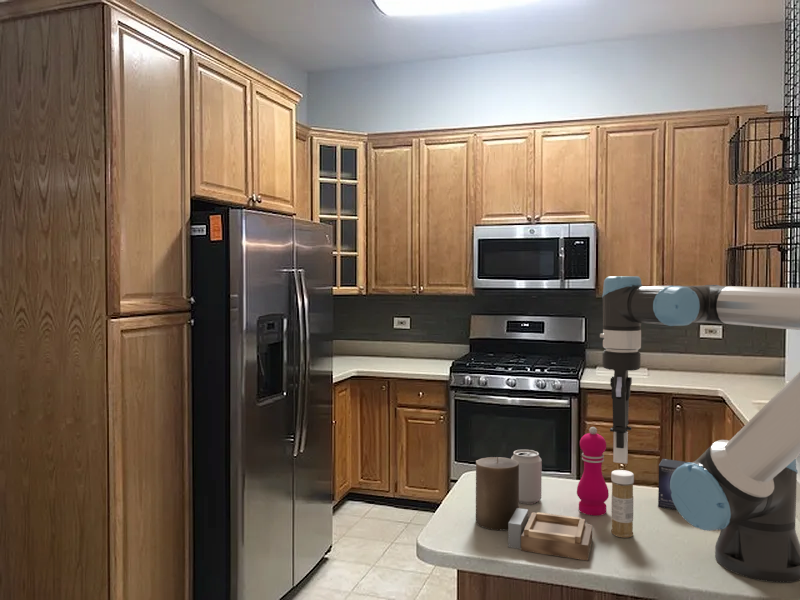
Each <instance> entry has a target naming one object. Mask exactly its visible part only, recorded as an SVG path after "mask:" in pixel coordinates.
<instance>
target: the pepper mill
mask: <svg viewBox="0 0 800 600" xmlns="http://www.w3.org/2000/svg"><path fill="white" fill-rule="evenodd" d="M579 448H580V450H581V451H582V453H581V460H582V461H583V473H582V475H581V478H580V480H579V481H578V484H577V487H576V495H577V497H578V498H579V502H578V512H580V513H582V514H584V515H587V516H592V517H593V516H595V517H596V516H597V517H599V516H603V515H605V514H606V513H607V504H606V501H607V500H608V498H609V495H610V494H609V488H608V484H607V483H606V480H605V478H604V476H603V472H602V469H603V468H602V465H603V462H604V461H605V459H604V458H605V454H604V452H605V451H606V449H607V442H606V439H605V438H604V437H603V436H602V435H601V434H599V433H598V429H597V428H596V427H595V426H591V427H589V433H588V432H587V433H585V434H584V435H583V436H581V438H580V440H579Z"/></svg>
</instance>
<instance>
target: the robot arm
mask: <svg viewBox="0 0 800 600" xmlns="http://www.w3.org/2000/svg"><path fill="white" fill-rule="evenodd" d="M601 295H602V296H601V297H602V298H601V299H602V320H603V321H602V333H599V338H601V339H603V340H602V347H603V348H604V350H603V351H602V367H603V369H606V370H611V371H612V370H613V371H614V374H613V375H612V376H611V378H610V379H609V380H610V381H609V382H610V384H609V385H610V387H611V399H612V427H610V429H609V432H610V433H611V432H613V447H612V448H613V450H612V451H613V453H612V454H613V455H612V456H613V457H612V458H613V459H612V460H613V463H618V464H626V465H627V464H628V461H629V460H628V459H629V458H628V450H629V449H628V448H629V447H628V446H629V445H628V442H629V440H628V439H629V438H628V437H629V434H628V433H629V431H632V426H629V423H630V422H629V411H630V410H629V406H630V405H629V404H630V397H631V386H632V383H633V382H632V381H633V379H632V377H630V376H629V372H630V371H631V372H633V371H638V370H640V368H641V362H642V361H641V356H642V355H641V352H640V351H639V350H640V349H641V348H642V330H641V329H642V324H653V325H665V326H668V327H675V326H677V327H682V326H688V325H689V326H690V324H692V323H694V324H695V323H711V324H722V325H724V324H725V325H726V324H728V325H736V326H749V327H758V328H760V327H761V328H772V329H781V330H783V329H784V330H793V331H794V330H795V331H800V287H775V286H774V287H772V286H771V287H770V286H742V285H741V286H739V285H738V286H737V285H736V286H734V285H733V286H732V285H729V286H728V285H718V284H705V285H651V286H649V285H643V284H642V279H641V277H640V276H638V275H635V276H633V275H632V276H631V275H630V276H628V275H625V276H622V275H621V276H619V275H618V276H616V275H615V276H610V275H609V276H607V277H606V278H605V279H604V280H603V289H602V294H601ZM799 456H800V370H799V371H798V372H796V374H795V375H794V376H793V377H792V378H791V379H790V380H789V381H788V382H787V383H786V384H785V385H784V386H783V387H782V388H781V389H780V390H779V391H778V392H777V393H776V394H774V396H773V397H772V398H771V399H770V400H769V401H768V402H767V403H766V404H764V405H763V406H762V408H761V409H760V410H759V411H757V412H756V414H755V415H754V416H753V417H752V418H751V419H749V421H747V423H745V424H744V425H743V426H742V428H741V429H740V430H739V431H737V433H736V434H734V435H733V436H732V438H731V439H729V440H728V439H719V440H716V441H714V442H713V443H712V444H711V445H710V446H709V447H708V448H707V449H705V451H704V452H703V453H702V454H701V455H700V456H699V457H698V458H696V460H694V461H692V462H691V461H690V462H689V461H688V462H689V463H684V464H683V465H681V466H680V467H678V468H677V469H676V470H675V471H674V472H673V474H672V476H671V480H670V489H671V492H672V494H671V497H672V500H673V503H674V505H675V507H676V509H677V510H676V511H677V512H678V513H679V515H680V516H681V517H682V518H683V519H684V520H685V521H686V522H687V523H688V524H690V525H691V526H693V527H694V528H696V529H699V530H702V531H708V532H710V531H717V530H718V531H720V532H719V535H718V538H717V540H716V542H715V546H714V557H715V560H716V561H717V563H718V564H720V566H722V567H723V568H725V569H727V570H728V571H730V572H733V574H734V573H735V574H737V575H740V576H743V577H746V578H749V579H753V580H756V581H763V582H769V583H793V582H799V581H800V540H799V537H798V534H797V530H796V515H797V478H798V475H797V474H798V469H797V458H798V457H799Z"/></svg>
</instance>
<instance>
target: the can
mask: <svg viewBox="0 0 800 600" xmlns="http://www.w3.org/2000/svg"><path fill="white" fill-rule="evenodd" d="M510 459H513V460H515V461H517V462H518V463H519V504H521V503H523V504H522V505H534V504H537V503H538V502H539V501H540V500H541V499H542V477H543V476H542V473H543V470H542V469H543V468H542V465H543V464H542V462H543V461H542V458H541V457H540V453H539V452H538V451H535V450H533V449H517V450H514V451H513V455H511V458H510ZM536 502H537V503H536ZM533 503H534V504H533Z"/></svg>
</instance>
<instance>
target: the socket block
mask: <svg viewBox="0 0 800 600" xmlns="http://www.w3.org/2000/svg"><path fill="white" fill-rule="evenodd" d="M593 526H594V525H593V524H589V523H588V524H587V523H586V519H585V518H581V517H579V516H578V517H577V516H569V515H564V514H563V515H561V514H553V513H547V512H534V511H533V512H531V514H530V515H529V517H528V522H527V524H526V526H525V528H524V531H523V533H522V535H521V549H520V551H522V552H530V553H533V554H534V553H535V554H542V555H549V556H553V557H554V556H555V557H562V558H568V559H574V560H582V561H589V556H590V553H591V547H592V543H593Z"/></svg>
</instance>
